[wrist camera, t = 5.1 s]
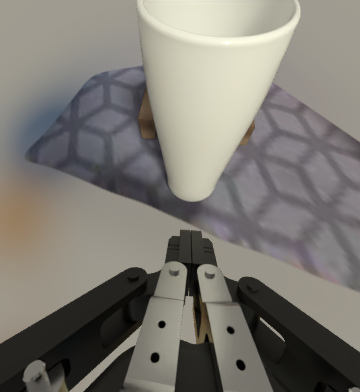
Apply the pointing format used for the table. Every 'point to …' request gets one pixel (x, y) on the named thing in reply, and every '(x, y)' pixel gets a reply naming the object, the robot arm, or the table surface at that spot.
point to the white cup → (209, 79)
